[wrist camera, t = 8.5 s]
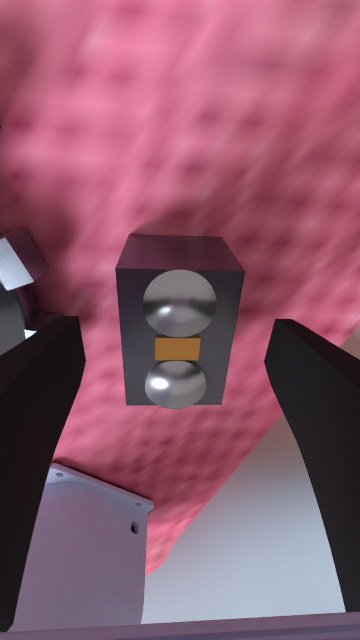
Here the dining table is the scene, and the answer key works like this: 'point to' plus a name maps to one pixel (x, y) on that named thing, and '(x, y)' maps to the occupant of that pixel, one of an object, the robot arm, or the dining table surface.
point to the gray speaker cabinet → (177, 318)
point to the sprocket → (19, 289)
